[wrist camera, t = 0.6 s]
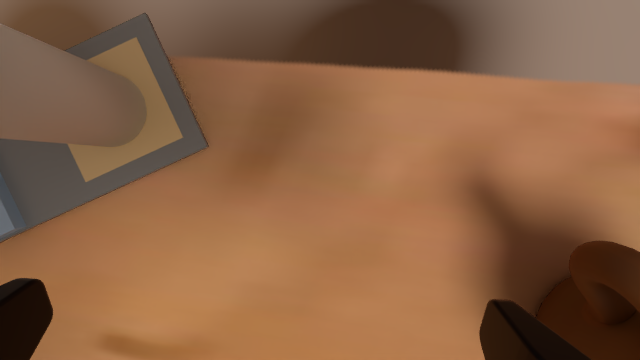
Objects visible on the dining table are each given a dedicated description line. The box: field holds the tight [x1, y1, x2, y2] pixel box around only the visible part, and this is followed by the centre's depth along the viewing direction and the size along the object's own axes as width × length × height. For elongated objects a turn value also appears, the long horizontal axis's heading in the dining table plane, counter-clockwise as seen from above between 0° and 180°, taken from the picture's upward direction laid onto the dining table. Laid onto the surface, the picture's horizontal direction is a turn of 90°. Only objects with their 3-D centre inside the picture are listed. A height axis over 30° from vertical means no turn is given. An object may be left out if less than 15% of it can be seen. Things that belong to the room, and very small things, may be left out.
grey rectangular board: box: [0, 13, 209, 242], centre depth 20 cm, size 19×8×1 cm, turn 114°
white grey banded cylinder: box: [0, 23, 147, 147], centre depth 13 cm, size 4×4×14 cm
